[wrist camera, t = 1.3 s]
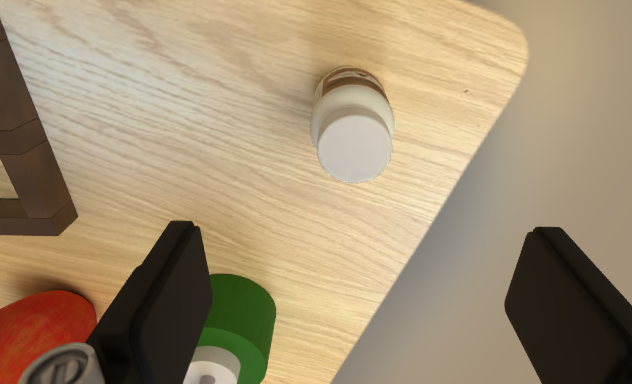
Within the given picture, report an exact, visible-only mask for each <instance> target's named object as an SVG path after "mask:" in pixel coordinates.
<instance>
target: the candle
mask: <svg viewBox="0 0 632 384" xmlns="http://www.w3.org/2000/svg"><path fill="white" fill-rule="evenodd" d="M210 281H211V287H212V292H213V302H212V306H211V309H210V312H209V315H208V317H207V320H206V323H205V325H204V328H203V331H202V333H201V336H200V339H199V341H198V344H197V347H196V350H195V352H194V355H193V358H192V360H191V363H190V366H189V368H188V371H187V374H186V376H185V379H184V382H183V384H260V383H261V382H262V380H263V379H264V377H265V374H266V370H267V365H268V359H269V353H270V347H271V341H272V335H273V330H274V324H275V318H276V307H275V303H274V301H273V299H272V298H271V296H270V295H269V293H268V292H267V291H266V290H265V289H264V288H262V287H261V286H260V285H258V284H257V283H255V282H253V281H251V280H249V279H246V278H244V277H241V276H236V275H230V274H216V275H210Z"/></svg>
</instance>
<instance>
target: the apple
mask: <svg viewBox="0 0 632 384" xmlns="http://www.w3.org/2000/svg"><path fill="white" fill-rule="evenodd" d="M96 325H97V319H96V314H95V311H94V308H93V306H92V305H91V304H90V303H89V302H88V301H86V300H85V299H84V298H83V297H81V296H79V295H76V294H73V293H71V292H68V291H63V290H55V291H46V292H42V293H37V294H33V295H29V296H27V297H24V298H22V299H20V300H18V301H16V302H14V303H12V304H10V305H8V306H5V307H3V308H1V309H0V384H17V383H18V381H19V379H20V377H21V375H22V373H23V372H24V371H25V369H26V368H27V367H28V366H29V365H30V364H31V363H32V362H33V361H34V360H35V359H37V358H38V357H39V356H41V355H42V354H44V353H45V352H47V351H49V350H51V349H53V348H55V347H58V346H60V345H63V344H67V343H74V342H78V343H85V341H86V340H87V338H88V337H89V335H90V334H91V332H92V331H93V330H94V328H95V327H96Z"/></svg>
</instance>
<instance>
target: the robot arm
mask: <svg viewBox="0 0 632 384" xmlns="http://www.w3.org/2000/svg"><path fill="white" fill-rule="evenodd" d="M212 302H213V292H212V287H211V281H210V276H209V271H208V266H207V261H206V256H205V251H204V246H203V241H202V236H201V231H200V228H199V226H194V224H193V222H192V221H171V222H170V223H169V224H168V225H167V227H166V228H165V230H164V231H163V233H162V234H161V236H160V237H159V239H158V240H157V242H156V243H155V245H154V246H153V248H152V249H151V251H150V252H149V254H148V255H147V257H146V258H145V260H144V261H143V263H142V264H141V265H140V266H138V267H136V269H135V270H134V271H133V272H132V274H131V275H130V277H129V278H128V280H127V281H126V283H125V284H124V286H123V287H122V288H121V290H120V291H119V293H118V294H117V296H116V297H115V299H114V300H113V302H112V303H111V305H110V306H109V308H108V309H107V310H106V312H105V313H104V315H103V316H102V318H101V319H100V321H99V322H98V324H97V325H96V327H95V328H94V330H93V331H92V332H91V334H90V335H89V337H88V338H87V340H86V341H85V343H78V342H74V343H67V344H63V345H60V346H58V347H55V348H53V349H51V350H49V351H47V352H45V353H44V354H42V355H41V356H39V357H38V358H37V359H35V360H34V361H33V362H32V363H31V364H30V365H29V366H28V367H27V368H26V369H25V371H24V372H23V373H22V375H21V377H20V379H19V381H18V383H17V384H183V382H184V379H185V376H186V374H187V371H188V368H189V366H190V363H191V360H192V358H193V355H194V352H195V350H196V347H197V344H198V341H199V339H200V336H201V333H202V331H203V328H204V325H205V323H206V320H207V317H208V315H209V312H210V309H211V306H212ZM505 311H506V314H507V316H508V318H509V320H510V322H511V324H512V326H513V328H514V330H515V332H516V334H517V336H518V338H519V340H520V342H521V343H522V345H523V347H524V349H525V351H526V353H527V355H528V357H529V359H530V361H531V363H532V365H533V367H534V369H535V371H536V373H537V375H538V377H539V379H540V381H541V383H542V384H632V305H631V304H630V303H629V302H628V301H627V300H626V299H625V298H624V296H623V295H622V294H621V293H620V292H619V291H618V290H617V289H616V288H615V287H614V285H612V283H611V282H610V281H609V280H608V279H607V278H606V277H605V276H604V274H602V272H601V271H600V270H599V269H598V268H597V267H596V266H595V265H594V263H593V262H592V261H591V260H590V259H589V258H588V257H587V256H586V255H585V254H584V252H583V251H582V250H581V249H580V248H579V247H578V246H577V245H576V243H575V242H574V241H573V240H572V239H571V238H570V237H569V236H568V235H567V234H566V233H565V231H564V230H563V229H561V228H560V227H536V228H535V229H534V230H533V232H529V233H528V234H527V236H526V238H525V242H524V244H523V247H522V250H521V254H520V257H519V259H518V262H517V265H516V268H515V271H514V274H513V278H512V280H511V283H510V286H509V290H508V292H507V296H506V299H505Z"/></svg>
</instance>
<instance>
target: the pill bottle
mask: <svg viewBox="0 0 632 384" xmlns="http://www.w3.org/2000/svg"><path fill="white" fill-rule="evenodd" d="M394 131H395V121H394V115H393V112H392V108H391V106H390V104H389V101H388V99H387V97H386V94H385V92H384V89H383V87H382V85H381V83H380V81H379V80H378V78H377V77H376V76H375V75H374V74H373V73H371V72H370V71H368V70H366V69H364V68H361V67H357V66H344V67H340V68H337V69H335V70H333V71H332V72H330V73H329V74H327V75H326V76H325V77H324V78H323V79H322V81H321V82H320V84H319V85H318V87H317V90H316V93H315V97H314V103H313V108H312V114H311V121H310V134H311V139H312V142H313V144H314V147H315V148H316V150H317V155H318V159H319V162H320V164H321V166H322V168H323V169H324V170H325V171H326V173H328V174H329V175H330V176H331V177H333V178H335V179H337V180H339V181H342V182H345V183H362V182H365V181H368V180H371V179H373V178H375V177H376V176H378V175H379V174H380V173H381V172H382V171H383V170H384V169H385V168H386V166H387V165H388V163H389V161H390V158H391V155H392V139H393V136H394Z"/></svg>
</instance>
